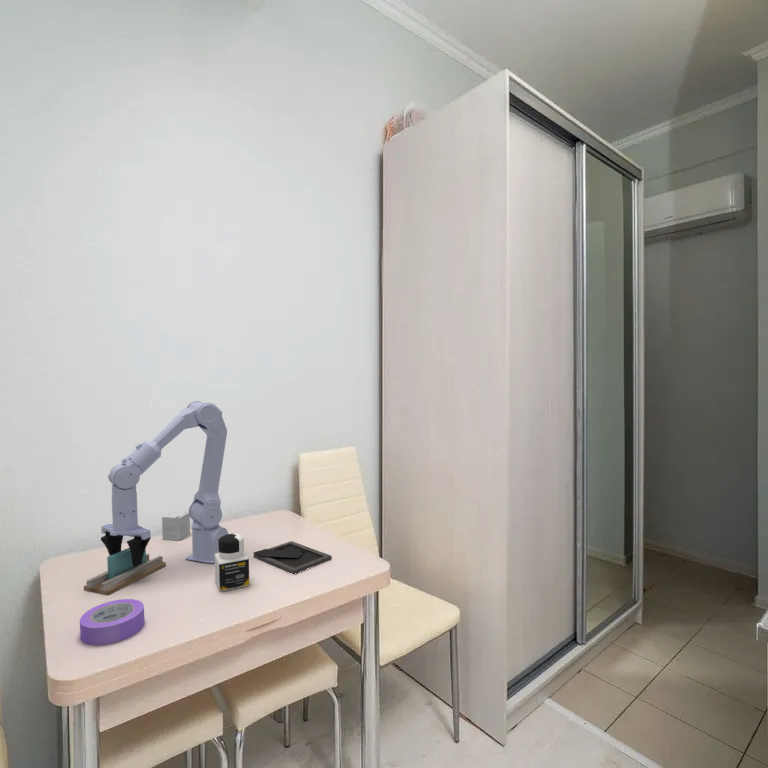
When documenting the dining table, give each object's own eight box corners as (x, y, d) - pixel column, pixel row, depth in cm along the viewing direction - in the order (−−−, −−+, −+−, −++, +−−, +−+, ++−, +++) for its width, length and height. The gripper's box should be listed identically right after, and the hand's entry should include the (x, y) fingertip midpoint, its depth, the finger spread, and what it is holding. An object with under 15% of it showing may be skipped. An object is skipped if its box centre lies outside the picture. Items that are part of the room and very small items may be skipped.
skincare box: (173, 533, 161) (172, 511, 161) (190, 534, 160) (190, 511, 160) (162, 540, 155) (161, 516, 155) (180, 541, 154) (179, 517, 154)
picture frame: (253, 559, 141) (293, 576, 129) (253, 552, 140) (293, 569, 128) (291, 546, 150) (331, 561, 138) (291, 539, 150) (331, 554, 138)
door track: (165, 565, 135) (165, 556, 135) (108, 595, 118) (108, 584, 118) (143, 562, 138) (142, 553, 138) (83, 590, 121) (83, 580, 121)
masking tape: (83, 653, 95) (82, 633, 95) (77, 627, 104) (77, 609, 104) (149, 633, 102) (149, 614, 101) (139, 610, 111) (138, 593, 111)
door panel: (146, 566, 133) (145, 544, 132) (114, 581, 123) (113, 557, 123) (140, 565, 133) (139, 543, 133) (108, 580, 124) (107, 556, 124)
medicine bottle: (219, 592, 119) (218, 543, 119) (214, 581, 125) (213, 534, 125) (249, 586, 122) (248, 538, 122) (243, 575, 129) (242, 529, 128)
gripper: (90, 512, 126) (91, 565, 127) (133, 518, 121) (135, 573, 122) (113, 505, 133) (115, 555, 133) (156, 510, 128) (157, 562, 128)
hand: (126, 563), depth 128 cm, fingers open, 7 cm apart
